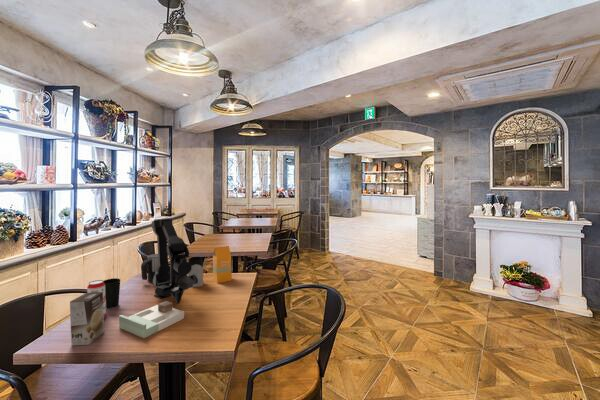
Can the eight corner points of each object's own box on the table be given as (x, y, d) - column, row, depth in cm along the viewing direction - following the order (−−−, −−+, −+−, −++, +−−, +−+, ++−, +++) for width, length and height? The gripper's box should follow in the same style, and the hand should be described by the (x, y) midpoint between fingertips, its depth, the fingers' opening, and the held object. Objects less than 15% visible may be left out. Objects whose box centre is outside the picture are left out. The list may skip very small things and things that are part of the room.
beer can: (87, 323, 118) (85, 285, 117) (90, 317, 124) (88, 280, 123) (105, 320, 121) (103, 283, 120) (107, 314, 127) (105, 278, 126)
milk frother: (153, 277, 176) (152, 253, 175) (178, 277, 175) (177, 253, 174) (138, 285, 162) (138, 259, 161) (165, 286, 161) (165, 260, 160)
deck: (119, 327, 115) (118, 315, 115) (159, 310, 131) (159, 299, 130) (144, 338, 107) (143, 325, 107) (184, 318, 123) (183, 306, 123)
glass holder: (187, 288, 158) (187, 261, 157) (187, 279, 171) (187, 255, 170) (204, 286, 161) (203, 259, 160) (203, 278, 175) (202, 253, 174)
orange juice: (231, 280, 171) (231, 247, 169) (217, 283, 166) (216, 249, 164) (227, 276, 177) (226, 244, 176) (212, 279, 172) (212, 246, 171)
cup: (111, 310, 131) (110, 284, 130) (97, 308, 132) (96, 283, 131) (125, 303, 138) (124, 278, 137) (111, 301, 140) (110, 277, 139)
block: (158, 311, 123) (158, 304, 123) (166, 307, 127) (166, 300, 127) (164, 313, 121) (164, 306, 121) (172, 309, 125) (172, 302, 125)
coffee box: (89, 345, 103) (87, 301, 102) (70, 345, 102) (68, 302, 101) (105, 331, 112) (103, 291, 111) (87, 332, 111) (85, 292, 110)
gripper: (171, 278, 117) (172, 315, 118) (206, 266, 133) (206, 299, 134) (153, 274, 122) (154, 310, 123) (189, 263, 138) (190, 295, 139)
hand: (178, 303), depth 130 cm, fingers closed
